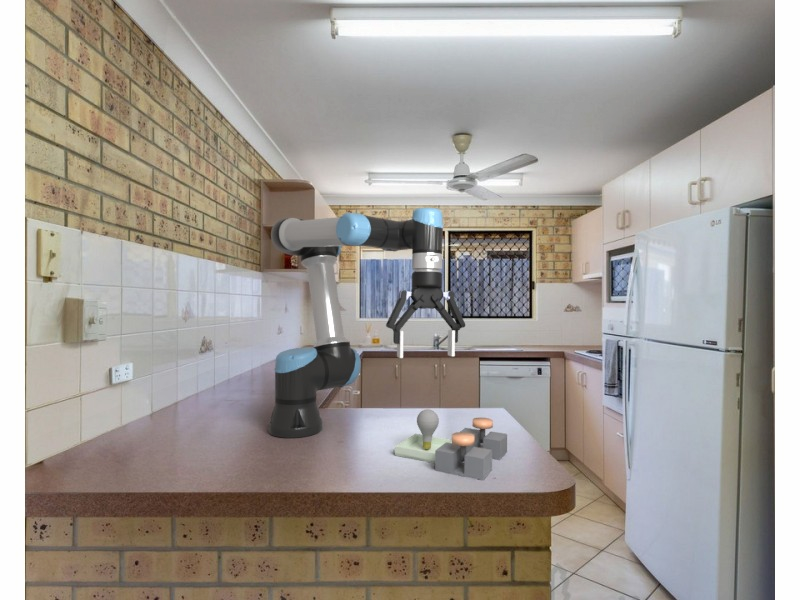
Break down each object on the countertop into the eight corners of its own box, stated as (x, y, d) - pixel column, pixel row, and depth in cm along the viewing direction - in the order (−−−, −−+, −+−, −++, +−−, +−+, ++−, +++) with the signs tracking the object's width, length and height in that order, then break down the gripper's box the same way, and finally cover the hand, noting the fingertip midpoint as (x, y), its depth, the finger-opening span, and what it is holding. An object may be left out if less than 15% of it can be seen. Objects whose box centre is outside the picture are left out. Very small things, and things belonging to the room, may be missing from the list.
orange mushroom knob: (469, 443, 109) (469, 421, 109) (476, 437, 114) (476, 416, 114) (489, 446, 107) (489, 424, 107) (495, 440, 111) (495, 419, 111)
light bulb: (441, 452, 108) (442, 412, 108) (419, 454, 106) (421, 413, 106) (433, 445, 113) (434, 406, 113) (413, 446, 112) (414, 407, 111)
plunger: (448, 462, 97) (448, 437, 97) (456, 455, 101) (456, 431, 101) (470, 466, 94) (470, 440, 94) (477, 458, 99) (477, 434, 99)
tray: (394, 455, 107) (394, 446, 107) (415, 441, 118) (415, 433, 118) (438, 463, 102) (438, 454, 102) (456, 449, 112) (456, 440, 112)
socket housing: (435, 470, 98) (435, 450, 98) (465, 444, 115) (465, 427, 115) (483, 480, 93) (483, 458, 93) (507, 451, 110) (507, 433, 110)
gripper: (382, 269, 102) (381, 360, 103) (479, 272, 110) (478, 357, 110) (374, 270, 110) (373, 355, 110) (466, 273, 117) (465, 353, 117)
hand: (426, 356), depth 110 cm, fingers open, 13 cm apart
